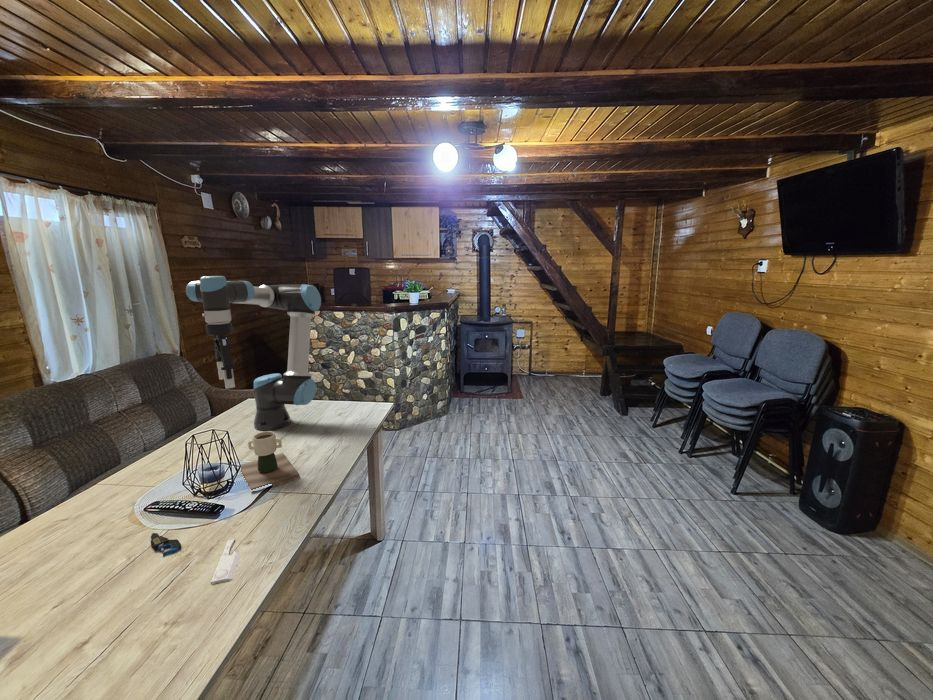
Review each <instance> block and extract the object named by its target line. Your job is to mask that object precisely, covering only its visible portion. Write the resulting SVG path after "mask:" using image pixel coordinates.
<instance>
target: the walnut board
mask: <svg viewBox="0 0 933 700" xmlns="http://www.w3.org/2000/svg"><path fill="white" fill-rule="evenodd" d="M275 457H276V460H277V465H278V466H277V467H276V468H275V469H273V470H272V471H269V472H259V471H258V459H257V460H253V461H249V462H244V463H242V464H240V465H241V471H240V473H241V472H242V473H241V475H242V474H243V475H242V477H243V476H244V477H243V479H244V478H245V479H244V481H245V480H246V481H245V483H246V482H247V483H248V486H249V487H250V489H251V490H253V489H256V488H259V487H262V486H265V485H268V484H272V485H275V486H278V485H281V484H284V483H287V482H290V481H294V480H296V479H299V478H300V473H299V472H298V470H297V469H296V468H295V466H294V465H293V464H292V462H291V461H290V459H288V457H287V455H285V453H284V452H281V453H277V454H275ZM247 483H246V484H247ZM248 486H247V487H248Z"/></svg>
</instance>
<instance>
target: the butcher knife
mask: <svg viewBox="0 0 933 700" xmlns="http://www.w3.org/2000/svg"><path fill="white" fill-rule="evenodd" d="M234 541H236V539H235V538H233V539H228V540H227V542H226V544H225V547H224V550H223V551H222V554H221V556H220V559H219V561H218V563H217V565H216V568H215V571H214V573H213V576H212V578H211V581H210V584H211V585H212V584H217V583H222V582H227V581H231V580H234V578H235V574H236V572H237V568H238V566H239V563H240V560H241V557H242V553H243V551H235V550H234V551H233V552H232V554H230V553H231V549H232V547H233V545H234V544H235V542H234Z"/></svg>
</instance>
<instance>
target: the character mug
mask: <svg viewBox="0 0 933 700" xmlns="http://www.w3.org/2000/svg"><path fill="white" fill-rule="evenodd" d="M277 443H278V445H277ZM247 445H248V450H251V451H252V450H253V452H254V454H255V456H256V457H257V460H258V471H259V472H269V471H272V470H273V469H275V468H276V467H277V466H278V465H277V460H276V457H275V455H276V454H275V452H276V451H277V449H281V448H282V447H283V444H282V439H281V438H277V437H276V432H275V431H273V430H263V431H260V432H258V433H256V434H254V435H252V440H248V441H247Z"/></svg>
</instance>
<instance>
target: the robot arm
mask: <svg viewBox="0 0 933 700" xmlns="http://www.w3.org/2000/svg"><path fill="white" fill-rule="evenodd" d="M185 295H186V296H187V297H188V299H189V300H190V301H192V302H198V303H202V306H203V312H204V313H202V315H201V316H202V317H204V321H205V323H206V324H205V330H206V335H207V336H211V337H212V336H213V344H214V356H215V360H216V367H217V374H218V380H219V381H222V380H224V387H225V389H226V390H227V389H228V390H229V389H234V388H236V384H235V375H234V367H235V366H234V363H233V358H232V353H231V348H230V340H229V339H228V338H227V335H230V334H233V331H234V330H233V324H232V322H231V321H232V314H231V307H230V304H239V305H241V304H243V305H244V304H245V305H258V306H260V307H263V308H270V309H276V310H281V311H286V313H287V315H288V316H289V317H290V320H289V322H290V323H289V336H288V352H287V353H288V354H287V355H288V356H287V367H286V368H287V369H286V371H285V372H284V373H283V374H281V373H278V372H277V373H269V374H265V375H262V376H259V377H257V378H255V379H254V380H253V392H254V400H255V401H254V402H255V407H256V411H255V417H254V419H253V427H254V429H255V430H257V431H273V430H277V429H281V428H285V427H286V426H288V425H289V424H290V423H291V416H290V414H289V412H288V410H287V408H286V405H289V406H292V405H293V406H294V405H295V406H306V405H308V404H310V403H311V402H312V400H313V399H314V397H315V396H316V392H317V384H316V381H315V380H313V379H312V374H311V373H310V372H309V361H310V359H309V358H310V341H311V327H312V326H311V325H312V318H314V317H315V316H316V312H317V311H319V310H320V307H322V297H321V294H320V292H319V290H318V289H317V287H316V286H315V285H313V284H305V283H302V284H301V283H300V284H294V283H293V284H283V283H282V284H273V285H271V284H270V285H266V284H262V285H260V286H254V285H253V284H252V283H251V282H250V281H248V280H247V281H246V280H227V279H226V276H224V275H210V276H209V275H208V276H207V275H204V276H201V277H200V278H199V280H193V281H190V282H189V283H187V285H186V287H185Z"/></svg>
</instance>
